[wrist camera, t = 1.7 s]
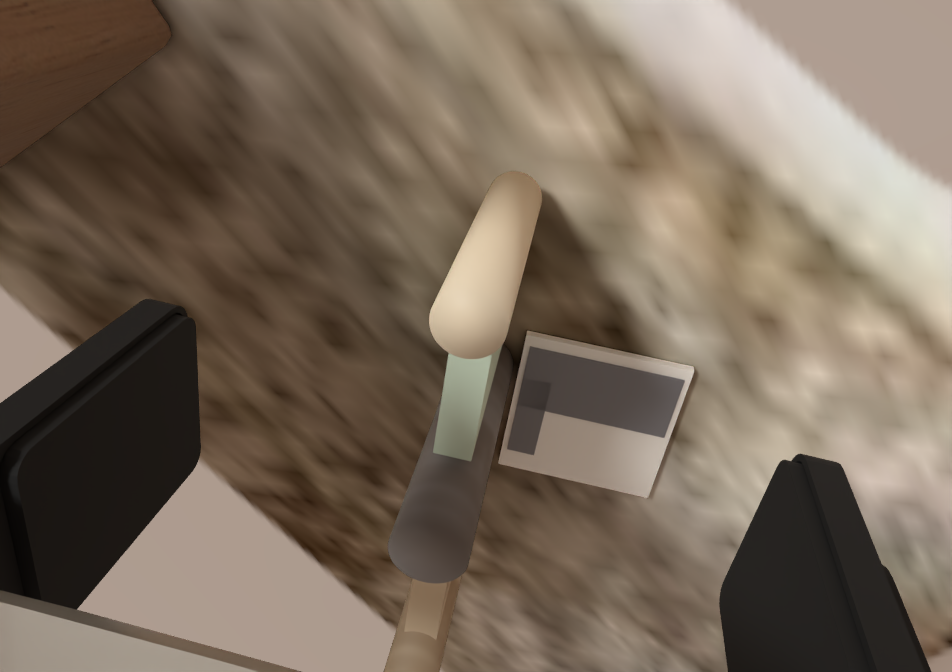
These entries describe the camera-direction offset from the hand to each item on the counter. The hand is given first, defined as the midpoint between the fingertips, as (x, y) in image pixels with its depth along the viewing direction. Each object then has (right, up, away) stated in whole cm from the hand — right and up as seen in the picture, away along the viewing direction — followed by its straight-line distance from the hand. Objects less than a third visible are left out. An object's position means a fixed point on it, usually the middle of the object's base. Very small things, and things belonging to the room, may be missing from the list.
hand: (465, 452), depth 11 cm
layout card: (+4, -1, +14) cm, 15 cm away
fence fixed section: (0, -2, +15) cm, 15 cm away
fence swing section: (+1, +4, +11) cm, 12 cm away
